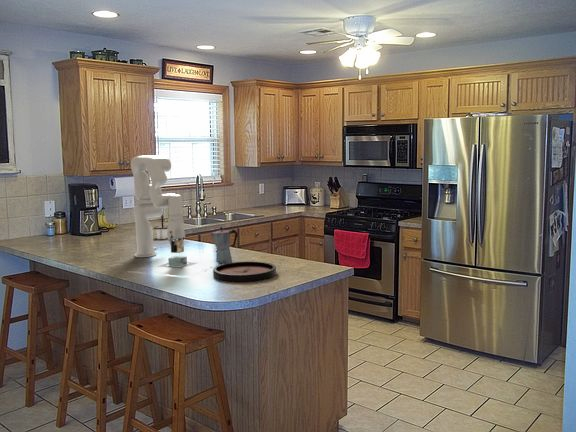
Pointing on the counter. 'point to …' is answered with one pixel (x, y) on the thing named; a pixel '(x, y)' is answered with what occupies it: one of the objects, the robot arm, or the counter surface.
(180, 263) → the teal base block
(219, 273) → the round serving tray
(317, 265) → the counter surface
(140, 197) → the robot arm
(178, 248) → the maple block
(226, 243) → the moka pot
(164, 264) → the build board
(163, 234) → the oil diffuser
